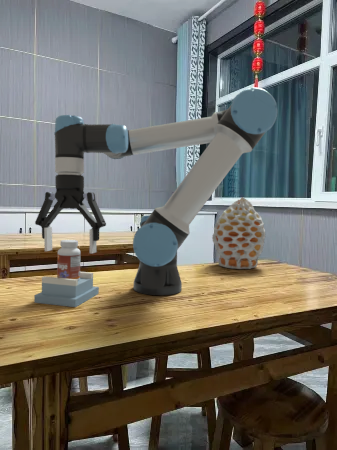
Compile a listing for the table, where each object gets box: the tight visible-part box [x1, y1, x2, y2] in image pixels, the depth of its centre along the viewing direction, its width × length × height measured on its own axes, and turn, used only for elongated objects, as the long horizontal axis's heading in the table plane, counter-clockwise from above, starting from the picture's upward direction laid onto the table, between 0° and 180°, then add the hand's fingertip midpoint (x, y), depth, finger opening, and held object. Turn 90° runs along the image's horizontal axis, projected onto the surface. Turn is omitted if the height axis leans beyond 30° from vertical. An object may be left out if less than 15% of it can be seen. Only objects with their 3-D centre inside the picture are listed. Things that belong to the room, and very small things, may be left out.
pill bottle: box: [56, 239, 81, 280], centre depth 101 cm, size 6×6×11 cm
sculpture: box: [211, 197, 266, 270], centre depth 156 cm, size 21×22×30 cm
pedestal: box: [33, 271, 100, 308], centre depth 102 cm, size 12×14×6 cm
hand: (70, 251), depth 101 cm, fingers open, 13 cm apart
